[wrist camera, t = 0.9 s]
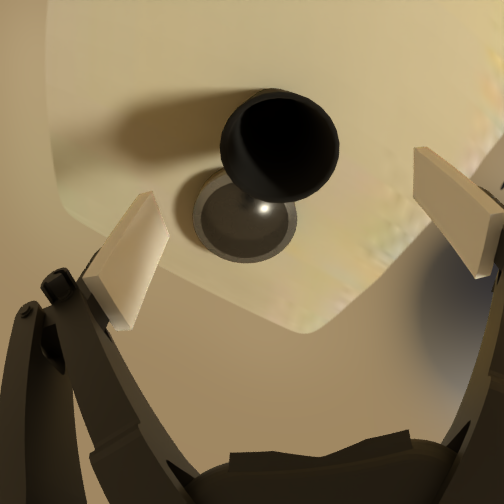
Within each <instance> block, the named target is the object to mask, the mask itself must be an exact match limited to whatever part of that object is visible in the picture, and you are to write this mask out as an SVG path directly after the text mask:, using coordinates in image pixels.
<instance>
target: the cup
mask: <svg viewBox="0 0 504 504" xmlns="http://www.w3.org/2000/svg"><path fill="white" fill-rule="evenodd" d="M220 154H221V161H222V163H223V166H224V169H225V172H226V173H227V175H228V176H229V178H230V179H231V181H232V182H233V183H234V184H235V185H236V186H237V187H238V188H239V189H240V190H241V191H243V192H244V193H246V194H248V195H249V196H251V197H253V198H255V199H258V200H261V201H265V202H269V203H289V202H295V201H298V200H301V199H304V198H307V197H308V196H310V195H312V194H313V193H315V192H316V191H318V190H319V189H320V188H321V187H322V186H323V185H324V184H325V183H326V182H327V181H328V180H329V178H330V177H331V175H332V173H333V172H334V170H335V167H336V164H337V161H338V158H339V139H338V134H337V130H336V128H335V126H334V124H333V122H332V120H331V118H330V117H329V116H328V114H327V113H326V112H325V111H324V110H323V109H322V108H321V107H320V106H319V105H317V104H316V103H315V102H313V101H312V100H310V99H309V98H306V97H303V96H301V95H298V94H295V93H292V92H289V91H285V90H282V89H275V88H271V89H265V90H263V91H260V92H258V93H257V94H255V95H254V96H253V97H251V98H250V99H249V100H247V101H246V102H245V103H243V104H242V105H241V106H239V107H238V108H237V109H236V110H235V111H234V113H233V114H232V115H231V116H230V117H229V119H228V120H227V122H226V125H225V127H224V129H223V131H222V135H221V141H220Z"/></svg>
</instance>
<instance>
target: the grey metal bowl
mask: <svg viewBox="0 0 504 504" xmlns="http://www.w3.org/2000/svg"><path fill="white" fill-rule="evenodd" d="M193 224H194V228H195V231H196V234H197V236H198V238H199V239H200V241H201V242H202V243H203V245H204V246H205V247H206V248H207V249H208V250H210V251H211V252H212V253H214V254H215V255H217V256H219V257H221V258H223V259H225V260H228V261H232V262H237V263H256V262H261V261H264V260H267V259H269V258H271V257H273V256H275V255H277V254H278V253H280V252H281V251H282V250H283V249H284V248H285V247H286V246H287V245H288V244H289V242H290V241H291V239H292V238H293V236H294V233H295V230H296V226H297V213H296V207H295V202H289V203H269V202H265V201H261V200H258V199H255V198H253V197H251V196H249V195H248V194H246V193H244V192H243V191H241V190H240V189H239V188H238V187H237V186H236V185H235V184H234V183H233V182H232V181H231V179H230V178H229V176H228V175H227V173H226V172H225V169H221V170H220V171H218V172H216V173H215V174H214V175H212V176H211V177H210V178H209V179H208V180H207V181H206V182H205V184H204V185H203V187H202V189H201V190H200V193H199V195H198V198H197V200H196V203H195V206H194V210H193Z"/></svg>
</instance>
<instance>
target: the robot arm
mask: <svg viewBox="0 0 504 504" xmlns="http://www.w3.org/2000/svg"><path fill="white" fill-rule="evenodd" d="M413 198H414V199H415V200H416V201H417V203H418V204H419V205H420V206H421V207H422V209H423V210H424V211H425V212H426V213H427V215H428V216H429V217H430V218H431V220H432V221H433V222H434V223H435V225H436V226H437V227H438V228H439V230H440V231H441V232H442V234H443V235H444V236H445V237H446V239H447V240H448V241H449V243H450V244H451V245H452V247H453V248H454V249H455V251H456V252H457V254H458V255H459V256H460V258H461V259H462V261H463V262H464V263H465V265H466V266H467V268H468V269H469V271H470V272H471V273H472V275H473V276H474V278H475V279H477V278H481V277H485V276H489V275H490V274H491V270H492V267H493V264H494V263H495V264H496V265H497V267H498V268H499V270H498V273H497V276H496V279H495V282H494V285H493V288H492V292H494V293H493V298H492V303H491V307H490V312H489V316H488V320H487V325H486V328H485V332H484V336H483V340H482V343H481V347H480V350H479V354H478V357H477V360H476V363H475V366H474V369H473V372H472V375H471V378H470V381H469V384H468V387H467V389H466V392H465V395H464V397H463V400H462V402H461V405H460V407H459V410H458V412H457V415H456V417H455V419H454V422H453V424H452V426H451V428H450V429H449V431H448V433H447V434H446V436H445V438H444V439H443V441H442V443H441V444H439V443H436V442H432V441H428V440H420V439H410V434H409V430H404V431H400V432H396V433H392V434H388V435H383V436H379V437H374V438H370V439H365V440H363V441H361V442H359V443H356V444H354V445H352V446H349V447H347V448H344V449H342V450H339V451H337V452H335V453H332V454H329V455H327V456H323V457H311V456H302V455H295V454H288V453H281V452H275V451H268V452H243V453H230V459H229V463H225V464H222V465H219V466H216V467H214V468H212V469H209V470H208V471H205V472H204V473H202V474H199V473H198V472H197V470H196V469H194V467H193V466H192V465H191V464H190V463H189V462H188V461H187V460H186V459H185V457H184V456H183V455H182V453H181V452H180V451H179V449H178V448H177V446H176V445H175V443H174V442H173V440H172V439H171V438H170V436H169V435H168V433H167V432H166V430H165V429H164V427H163V426H162V424H161V423H160V421H159V419H158V418H157V416H156V415H155V413H154V412H153V410H152V408H151V407H150V405H149V404H148V402H147V400H146V399H145V397H144V395H143V394H142V392H141V390H140V388H139V387H138V385H137V383H136V382H135V380H134V378H133V376H132V375H131V373H130V371H129V369H128V367H127V365H126V364H125V362H124V360H123V358H122V356H121V354H120V352H119V351H118V348H117V346H116V345H115V343H114V341H113V339H112V337H111V335H110V333H109V332H108V330H107V329H106V327H107V324H108V322H109V321H110V323H111V324H112V325H113V327H114V328H115V330H116V331H123V330H132V329H133V326H134V323H135V320H136V318H137V315H138V312H139V310H140V307H141V305H142V302H143V300H144V297H145V294H146V292H147V289H148V287H149V284H150V282H151V279H152V277H153V274H154V272H155V270H156V267H157V265H158V262H159V260H160V258H161V255H162V253H163V251H164V248H165V246H166V244H167V241H168V239H169V237H170V236H169V233H168V231H167V228H166V226H165V223H164V220H163V218H162V215H161V213H160V210H159V207H158V205H157V202H156V200H155V197H154V194H153V192H152V191H150V192H146V193H142V194H139V195H138V197H137V198H136V199H135V201H134V202H133V203H132V205H131V206H130V207H129V209H128V210H127V211H126V213H125V214H124V216H123V217H122V218H121V220H120V221H119V223H118V224H117V225H116V227H115V228H114V230H113V231H112V233H111V234H110V236H109V237H108V239H107V240H106V242H105V243H104V244H103V246H102V247H101V248H100V249H99V250H98V251H97V252H96V253H95V254H94V255H93V257H92V258H91V260H90V263H88V265H87V266H86V269H84V271H83V272H82V274H81V275H80V277H79V279H78V280H77V282H75V280H74V279H73V277H72V276H71V274H70V272H69V270H68V269H67V268H60V269H57V270H55V271H53V272H52V273H51V274H49V275H48V276H47V277H46V278H45V279H44V280H43V282H42V284H41V290H42V291H43V293H44V294H45V296H46V297H47V298H48V300H49V301H50V303H51V304H52V305H51V306H49V307H46V308H44V309H42V308H41V306H40V305H39V304H38V302H37V301H31V302H28V303H27V304H25V305H23V307H21V308H20V310H19V311H18V313H17V314H16V317H15V320H14V324H13V329H12V333H11V337H10V342H9V346H8V351H7V356H6V361H5V367H4V373H3V379H2V386H1V394H0V504H87V500H86V496H85V490H84V485H83V480H82V474H81V468H80V462H79V455H78V447H77V439H76V430H75V419H74V406H73V390H74V394H75V397H76V399H77V403H78V405H79V408H80V411H81V414H82V417H83V419H84V422H85V425H86V427H87V430H88V432H89V435H90V437H91V440H92V442H93V444H94V448H95V451H93V452H91V453H90V456H89V459H90V462H91V465H92V467H93V470H94V472H95V474H96V476H97V479H98V481H99V483H100V485H101V487H102V489H103V491H104V494H105V496H106V498H107V499H108V501H109V503H110V504H504V205H503V204H502V203H500V201H499V200H498V199H497V198H494V196H493V195H492V194H491V193H490V192H488V191H487V190H485V189H483V188H481V187H479V186H477V185H475V184H474V183H473V182H472V181H471V180H469V179H468V178H467V177H466V176H465V175H463V174H462V173H461V172H460V171H458V170H457V169H456V168H455V167H453V166H452V165H451V164H449V163H448V162H447V161H445V160H444V159H443V158H441V157H440V156H439V155H437V154H436V153H435V152H433V151H432V150H431V149H429V148H428V147H417V148H414V184H413Z"/></svg>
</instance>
